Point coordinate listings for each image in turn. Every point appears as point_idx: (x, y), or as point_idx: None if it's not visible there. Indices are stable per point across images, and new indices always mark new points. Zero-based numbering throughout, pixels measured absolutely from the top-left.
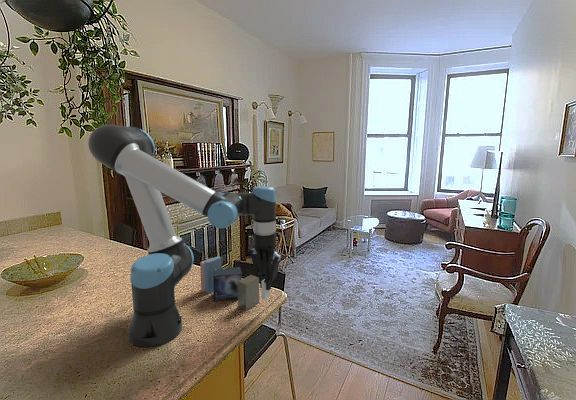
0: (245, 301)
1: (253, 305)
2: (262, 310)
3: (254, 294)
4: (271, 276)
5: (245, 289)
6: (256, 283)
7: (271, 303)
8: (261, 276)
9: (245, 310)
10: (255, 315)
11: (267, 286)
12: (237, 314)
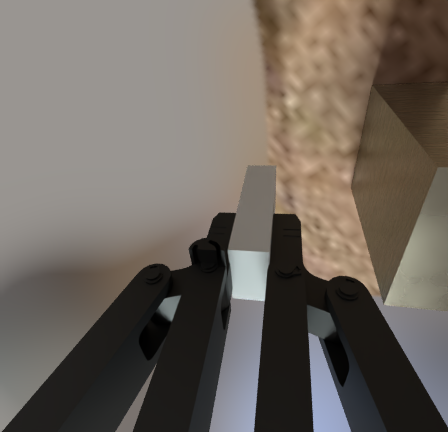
0: (392, 102)
1: (360, 150)
2: (290, 145)
3: (370, 190)
4: (122, 309)
5: (424, 141)
6: (382, 254)
7: (292, 212)
8: (267, 290)
9: (378, 85)
10: (291, 85)
11: (220, 232)
12: (404, 10)
